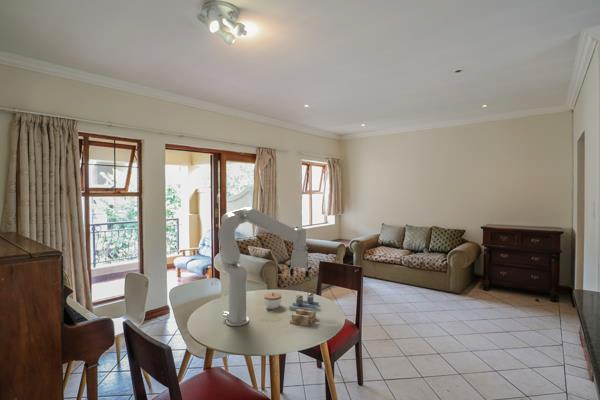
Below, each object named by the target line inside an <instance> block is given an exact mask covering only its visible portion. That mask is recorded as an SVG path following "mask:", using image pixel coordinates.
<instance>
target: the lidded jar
mask: <svg viewBox="0 0 600 400" xmlns="http://www.w3.org/2000/svg"><path fill="white" fill-rule="evenodd" d="M263 297H264V298H263V300H264V305H265V307H266V308H267V309H268V310H270V309H273V310H274V309H277V308H279V307H280V305H281V303H282V294H281V293H278V292H268V293H265V294H264V296H263Z"/></svg>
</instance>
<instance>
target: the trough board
mask: <svg viewBox="0 0 600 400" xmlns="http://www.w3.org/2000/svg"><path fill="white" fill-rule="evenodd" d="M319 307H320V302H319V301H315V300H313V305H310V304H307V300H306V299H303V307H296V301H293V302H292V305H289V306H288V310H290V311H296V310H297V309H300V310H307V311H314V312H317V310H318V309H319Z"/></svg>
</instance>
